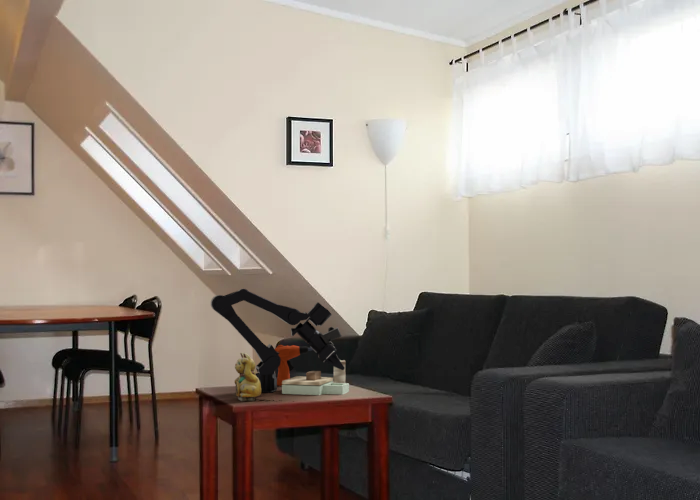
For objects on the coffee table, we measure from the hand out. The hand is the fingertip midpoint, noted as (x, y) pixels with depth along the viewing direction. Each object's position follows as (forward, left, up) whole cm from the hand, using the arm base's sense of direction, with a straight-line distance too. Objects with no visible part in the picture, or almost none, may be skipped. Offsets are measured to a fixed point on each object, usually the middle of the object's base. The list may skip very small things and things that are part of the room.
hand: (343, 367), depth 296 cm
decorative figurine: (-22, -30, -8) cm, 38 cm away
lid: (-8, -14, -3) cm, 17 cm away
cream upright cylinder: (-1, 0, -8) cm, 8 cm away
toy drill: (-20, +9, -8) cm, 23 cm away
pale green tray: (-4, -14, -8) cm, 17 cm away
